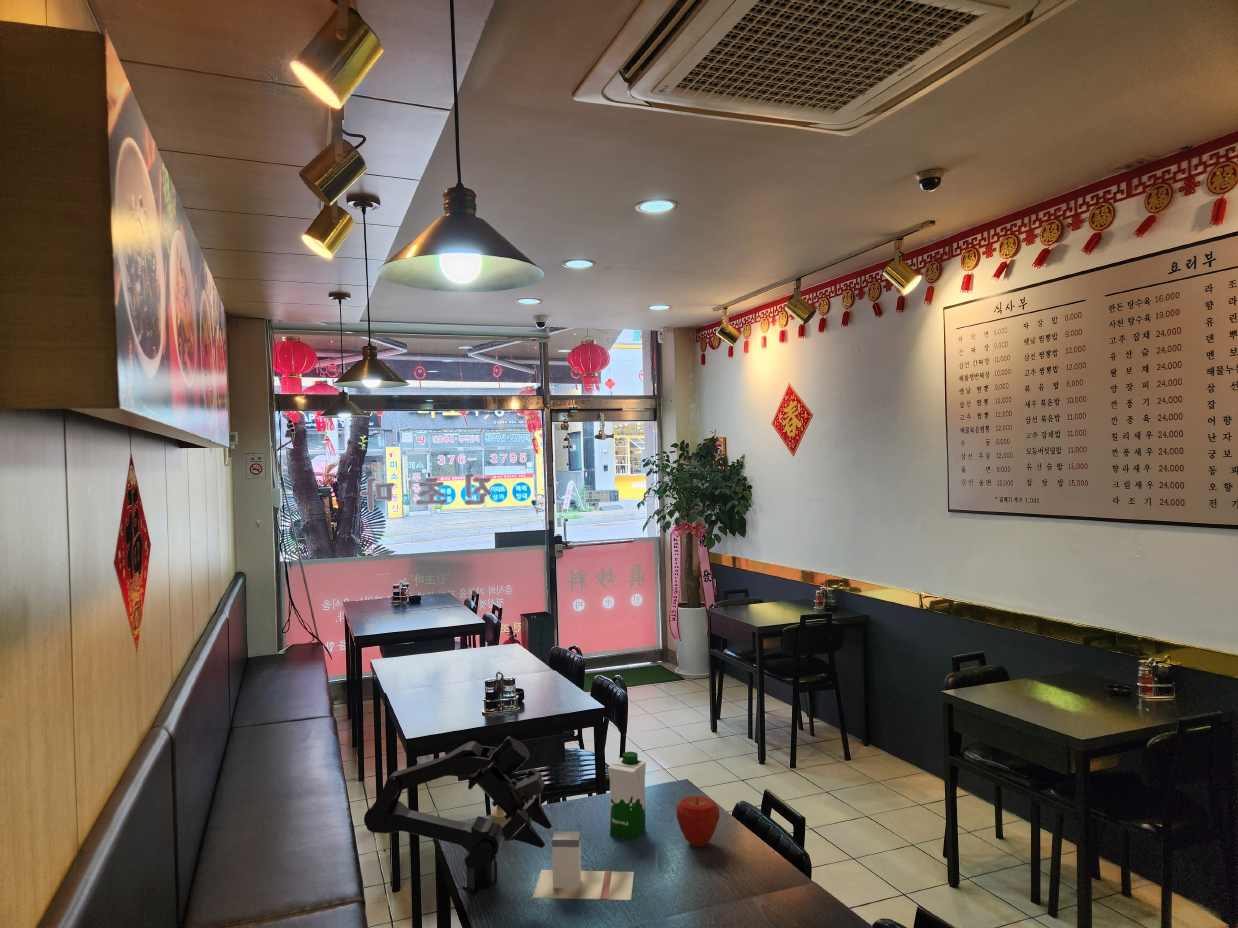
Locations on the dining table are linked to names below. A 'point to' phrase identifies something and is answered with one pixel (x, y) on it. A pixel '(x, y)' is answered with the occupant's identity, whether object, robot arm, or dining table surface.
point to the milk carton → (627, 796)
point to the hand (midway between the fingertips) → (547, 836)
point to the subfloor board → (588, 886)
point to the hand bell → (498, 816)
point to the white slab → (566, 859)
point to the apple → (697, 819)
